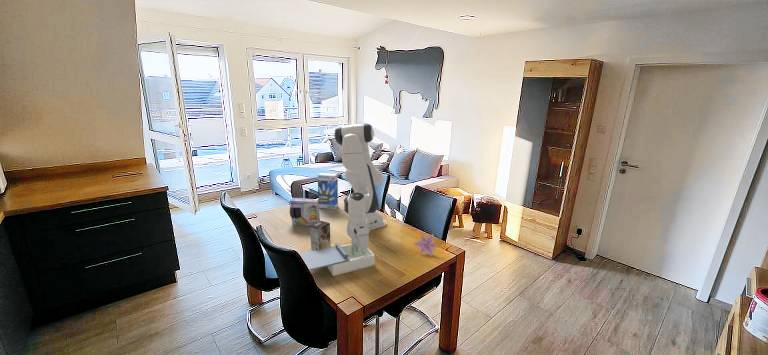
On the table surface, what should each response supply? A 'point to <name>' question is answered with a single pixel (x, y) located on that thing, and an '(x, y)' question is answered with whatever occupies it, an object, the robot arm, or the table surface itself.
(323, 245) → the coffee box
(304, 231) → the table surface
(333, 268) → the mailer box
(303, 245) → the table surface
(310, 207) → the cake pan box
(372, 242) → the table surface
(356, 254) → the parcel block
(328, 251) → the lid
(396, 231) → the table surface
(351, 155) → the robot arm
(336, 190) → the string lights box
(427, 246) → the lily
